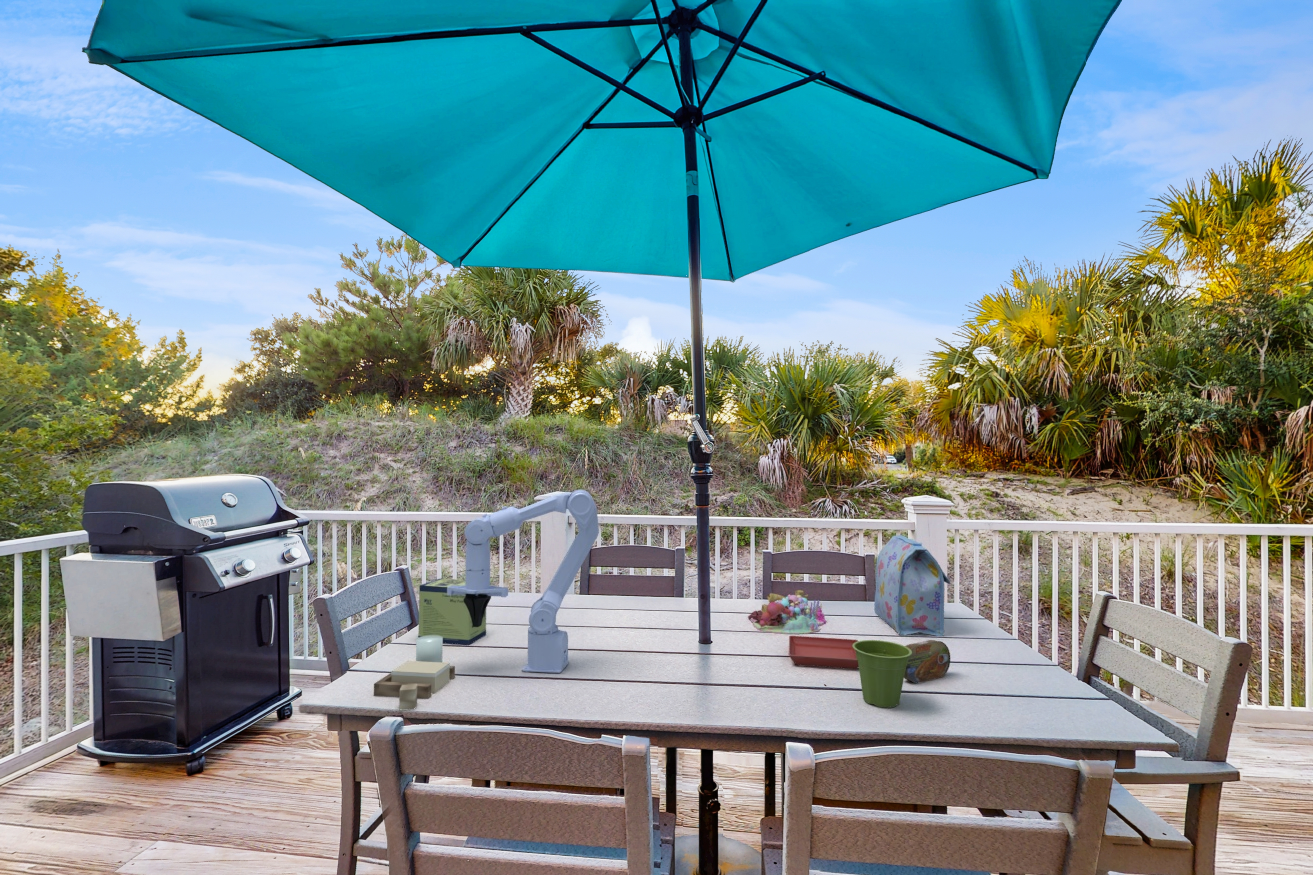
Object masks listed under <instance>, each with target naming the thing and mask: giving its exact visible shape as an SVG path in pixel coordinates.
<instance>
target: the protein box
mask: <svg viewBox="0 0 1313 875" xmlns="http://www.w3.org/2000/svg"><path fill="white" fill-rule="evenodd" d="M463 585H465V579H457V578H456V579H455V578H441V577H440V578H438V579H434V580H431V581H429V582H426V583H422V584H420V585H419V592H418V593H419V595H418V596H419V597H418V636H417V638H419V637H422V636H427V635H439V636H442V637H443V644H447V645H448V644H450V645H459V646H460V645H462V646H469V645H471V644H473V643H474V642H476V641H478V640H480V639H481V638H483V637H485V636H487V609H486V610H485V612H484V616H483V619H482V625H481V626H479V627H473V625H472V620H471V616H470V613H469V611H468V609H467V607H466V605H465V603H464V600H463V599H464V598H465V597H466V595H447V587H449V586H463Z"/></svg>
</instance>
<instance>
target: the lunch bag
mask: <svg viewBox="0 0 1313 875" xmlns="http://www.w3.org/2000/svg"><path fill="white" fill-rule="evenodd" d="M875 565H876V568H875V569H876V571H875V572H876V574H875V575H876V581H875V592H874V593H875V594H874V605H873V606H874V609H873V610H874V614H875V615H876V616H878V617H879V618H880V619H882V620H883V621H884V622H885V623H886V624H888V625H889V627H891V628H893V629H894V631H896V633H897V634H899V635H903V636H907V635H911V634H917V633H918V634H922V635H923V634H924V635H931V636H932V635H933V636H936V637H943V636H944V635H945V634H944V633H945V583H946V584H947V585H951V581H950V579H949V578H948V576H947V575H946V573H945V572H944V570H943V569H942V567H941V565H940V564H939V562H938V560H937V559H936V558H935V557H934V556H933V555H932V553H930V551H929V550H928V549H927V548H925V547H923V543H922V542H917V541H916V540H914V539H913V538H909V537H907V536H904V535H903V534H900V535H899V534H898V535H896V534H895V535H893V536H891V538H890V539H889V540H888V541H887V543H886V544H885V545H884V546H883V547H882V549H881V550H880V551H879V553H878V555H877V558H876V564H875Z"/></svg>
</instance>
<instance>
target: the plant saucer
mask: <svg viewBox="0 0 1313 875" xmlns="http://www.w3.org/2000/svg"><path fill="white" fill-rule="evenodd" d="M858 641H859V640H858V639H850V638H835V637H821V636H820V637H819V636H803V635H789V636H788V655H789V657H790V659H791V660H792V662H794V664H795V665H796V666H805V667H819V668H832V669H833V668H834V669H845V670H847V669H848V670H857V669H859V666H858V660H857V658H856V652H855V649H854V648H853V646H852V645H853V644H854V643H855V642H858Z"/></svg>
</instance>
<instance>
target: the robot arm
mask: <svg viewBox="0 0 1313 875" xmlns="http://www.w3.org/2000/svg"><path fill="white" fill-rule="evenodd" d="M567 510H568V512H569V513H570V515H571V516H572V518H574V521H575V523H576V526H577V529H578V532H577V533H576V536H575V537H574V539H573V540H572V543H571V545H570V547H569V549H568V550H567V552H566V554H565V555H564V557H563V560H562V561H561V562H560V564H559V566H558V568H557V570H556V572H555V574H554V576H553V577H552V579H551V581H550V583H549V584H548V586H547V587H546V589H545V591H544V592H543V594H542V595H541V597H540V598H539V599H537V600H536V601H535V602H533V604H532V606H531V608H530V615H529V617H528V624H529V626H528V628H527V663H526V665H524V666H523V667H522V669H521V671H522V672H533V673H551V674H552V673H553V674H554V673H555V674H560V673H562V672H563V671H564V670H565V668H566V666H568V665H569V663H570V661H569V637H568V636H569V634H568V631H566V630H561V629H559V626H558V625H557V624H556V622H557V614H558V612H559V610H560V608H561V605H562V602H563V600H564V599H565V596H566V595H567V592H568V591H569V589H570V587H571V585H572V583H573V581H574V580H575V578H576V576H577V574H578V573H579V571H580V569H581V567H582V565H583V563H584V562H585V559H586V558H587V557H588V554H589V552H590V551H591V549H592V548H593V545H594V543H595V542H596V540H597V538H598V536H599V533H600V528H599V519H598V518H599V517H598V508H597V506H596V502H595V501H594V499H593V496H592V495H591V494H590V492H589V491H587V490H585V489H580V488H579V489H575V490H573V491H572V492H571V491H567V492H562V493H559V494H555V495H552V496H549V497H546V498H545V499H542V500H540V501H538V502H537V501H536V502H535V503H532V504H530V505H527V506H524V507H521V508H516V507H514V506H509V507H508V506H507V505H504V506H502V507H501V510H498V511H495V512H493V513H489V514H487V513H484V514H482V515H481V516H482V517H478V518H477V517H476V518H475V519H473V520H471V521H470V522H469V523H468V524H467V525H466V526H465V527H464V528H465V529H464V537H465V539H466V549H465V578H464V580H465V585H463V586H449V587H447V595H466V597H465V598H464V599H463V600H464V603H465V605H466V607H467V609H468V611H469V613H470V616H471V620H472V625H473V627H479V626H481V625H482V619H483V616H484V612H485V610H486V611H487V607H488V604H489V603H490V600H491V599H492V597H501V598H506V597H508V596H509V587H504V586H503V587H502V586H495V585H494V586H493V585H491V548H490V547H491V546H490V543H491V542H490V541H491V540H490V538H497V537H500V536H503V535H506V534H509V533H511V532H513V531H517V530H519V529H520V528H521V526H522V524H523V522H525V521H528V520H532V519H535V518H538V517H541V516H543V515H547V514H550V513H553V512H557V513H562V514H567Z"/></svg>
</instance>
